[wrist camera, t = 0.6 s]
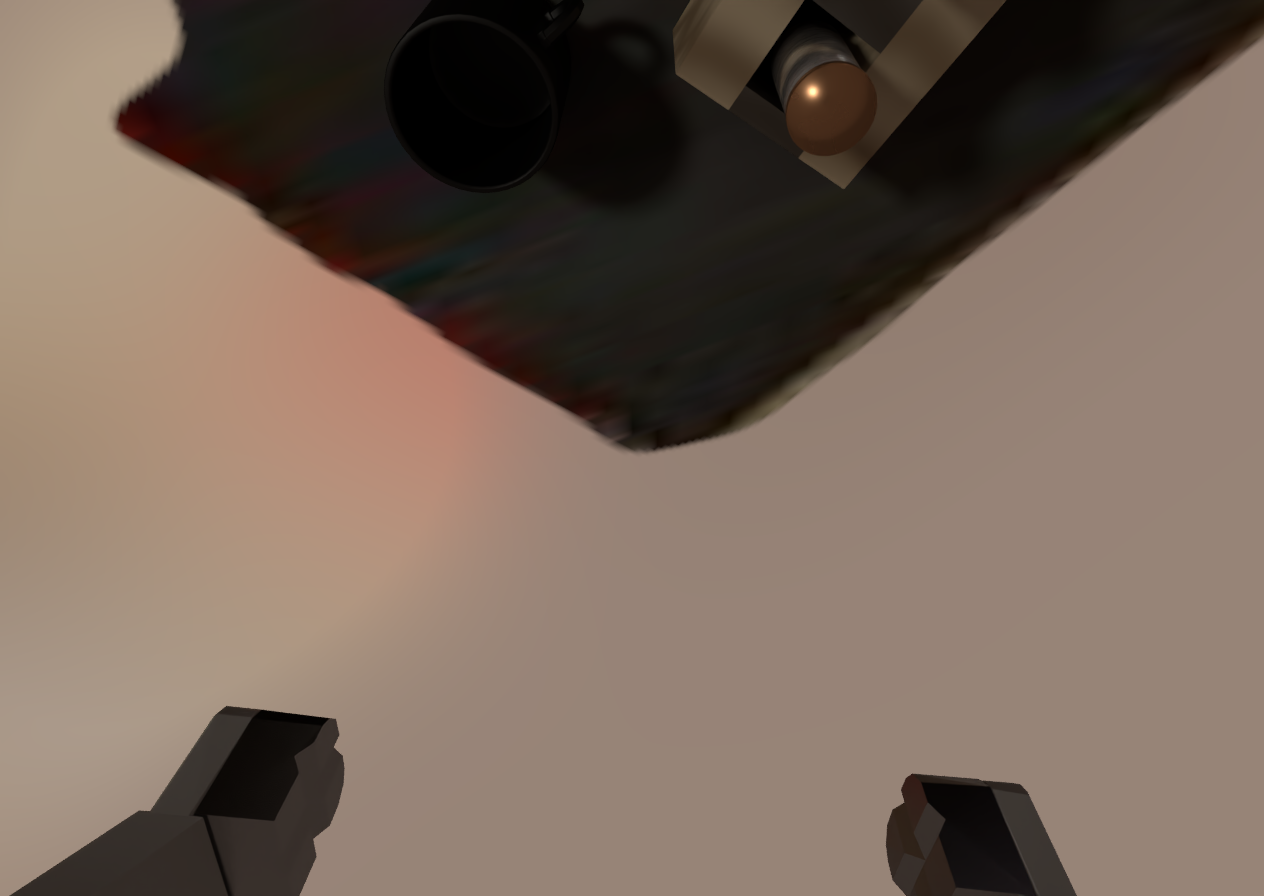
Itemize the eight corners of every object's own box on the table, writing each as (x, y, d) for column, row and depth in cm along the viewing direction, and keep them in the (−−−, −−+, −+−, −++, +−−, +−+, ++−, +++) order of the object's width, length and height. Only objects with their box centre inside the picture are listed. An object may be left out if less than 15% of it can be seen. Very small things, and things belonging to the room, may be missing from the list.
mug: (634, 51, 46) (631, 104, 40) (493, 160, 51) (470, 223, 45) (535, -101, 41) (513, -68, 35) (388, 38, 46) (345, 89, 40)
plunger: (803, 0, 38) (828, 45, 33) (863, 47, 40) (896, 97, 35) (752, 73, 41) (768, 126, 36) (811, 115, 42) (834, 171, 37)
